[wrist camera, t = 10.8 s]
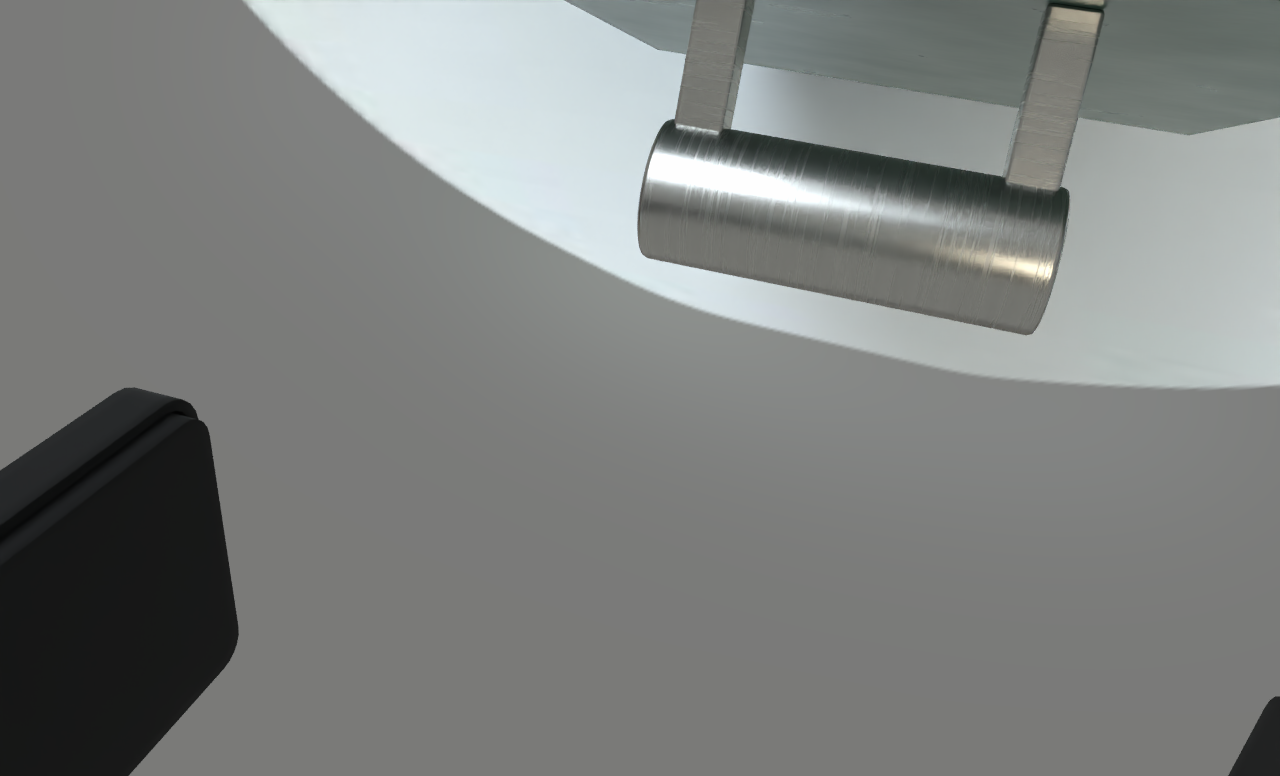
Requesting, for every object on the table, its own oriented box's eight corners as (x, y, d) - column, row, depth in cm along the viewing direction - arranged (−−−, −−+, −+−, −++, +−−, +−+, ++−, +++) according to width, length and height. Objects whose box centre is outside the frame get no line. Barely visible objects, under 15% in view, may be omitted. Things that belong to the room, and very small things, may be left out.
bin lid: (320, -199, 13) (281, 202, 14) (1671, -37, 10) (1490, 453, 11) (660, 21, 31) (631, 194, 32) (1199, 104, 28) (1145, 293, 29)
